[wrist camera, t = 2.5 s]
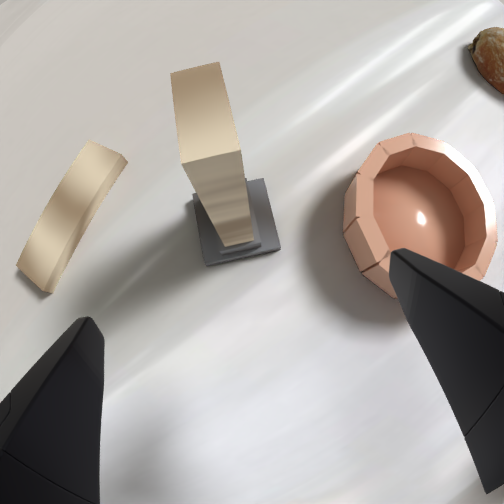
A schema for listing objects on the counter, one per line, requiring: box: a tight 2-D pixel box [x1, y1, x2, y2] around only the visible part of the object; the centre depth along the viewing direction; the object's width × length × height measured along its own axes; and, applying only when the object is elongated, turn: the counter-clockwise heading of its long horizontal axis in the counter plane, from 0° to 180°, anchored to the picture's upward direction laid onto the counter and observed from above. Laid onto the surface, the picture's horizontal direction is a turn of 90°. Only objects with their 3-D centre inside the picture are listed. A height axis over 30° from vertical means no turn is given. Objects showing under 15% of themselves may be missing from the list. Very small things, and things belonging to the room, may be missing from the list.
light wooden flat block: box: [16, 140, 128, 293], centre depth 22 cm, size 12×4×2 cm, turn 151°
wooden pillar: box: [170, 62, 281, 266], centre depth 16 cm, size 5×5×13 cm
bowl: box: [343, 133, 498, 299], centre depth 20 cm, size 11×11×4 cm
